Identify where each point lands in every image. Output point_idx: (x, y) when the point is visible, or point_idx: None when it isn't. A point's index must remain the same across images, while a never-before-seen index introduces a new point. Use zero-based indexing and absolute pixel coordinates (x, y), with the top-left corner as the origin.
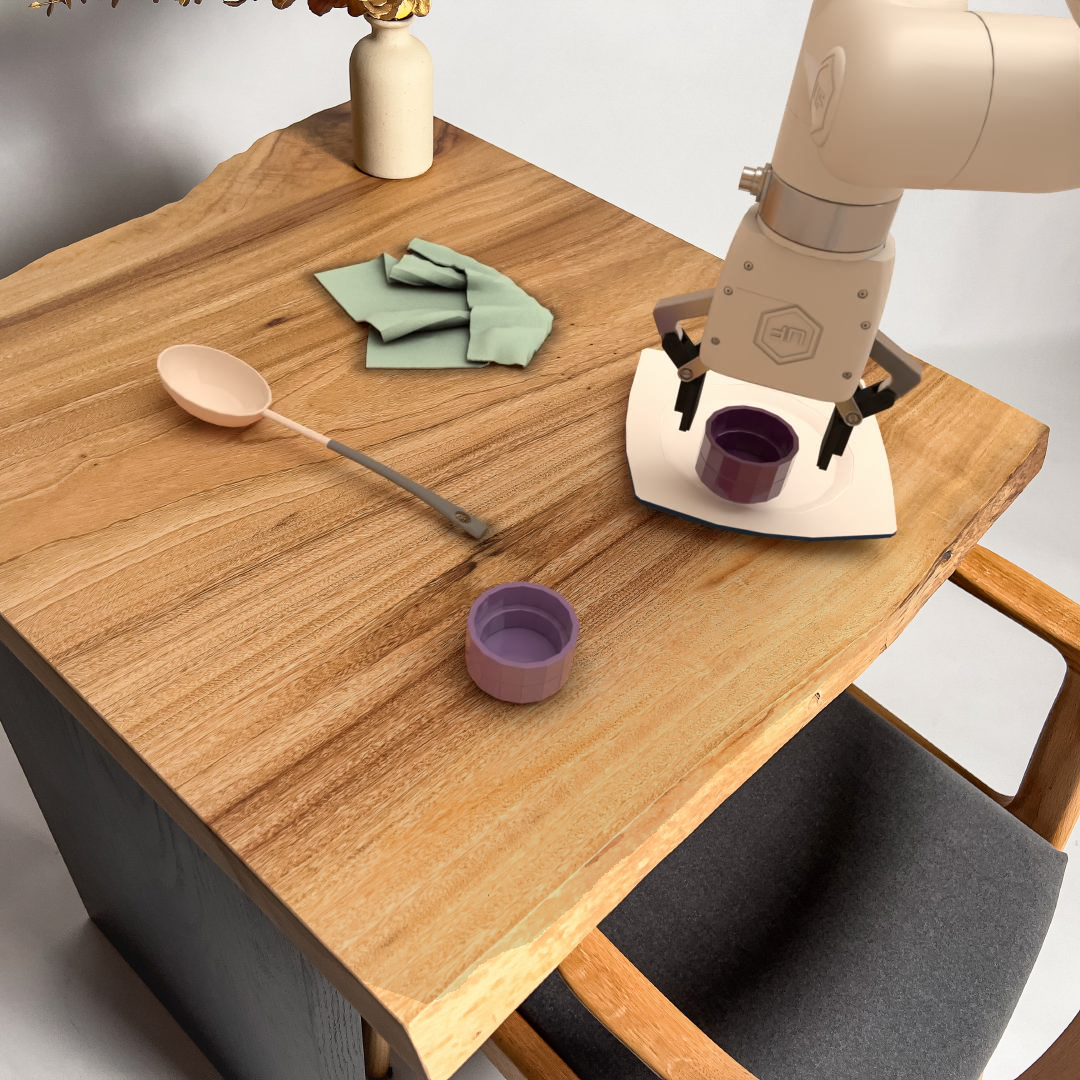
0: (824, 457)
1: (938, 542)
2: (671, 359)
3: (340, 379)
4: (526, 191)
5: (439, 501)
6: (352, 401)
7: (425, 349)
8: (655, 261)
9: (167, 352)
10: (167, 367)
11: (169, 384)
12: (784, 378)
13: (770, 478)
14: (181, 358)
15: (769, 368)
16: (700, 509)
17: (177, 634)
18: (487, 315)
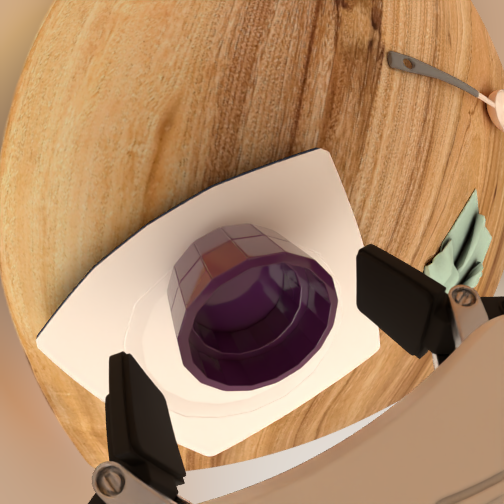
0: (120, 373)
1: (38, 368)
2: (484, 297)
3: (478, 170)
4: (428, 374)
5: (427, 68)
6: (472, 155)
7: (463, 229)
8: (370, 405)
9: None
10: None
11: None
12: (375, 493)
13: (185, 285)
14: None
15: (444, 465)
16: (245, 198)
17: None
18: (451, 282)
